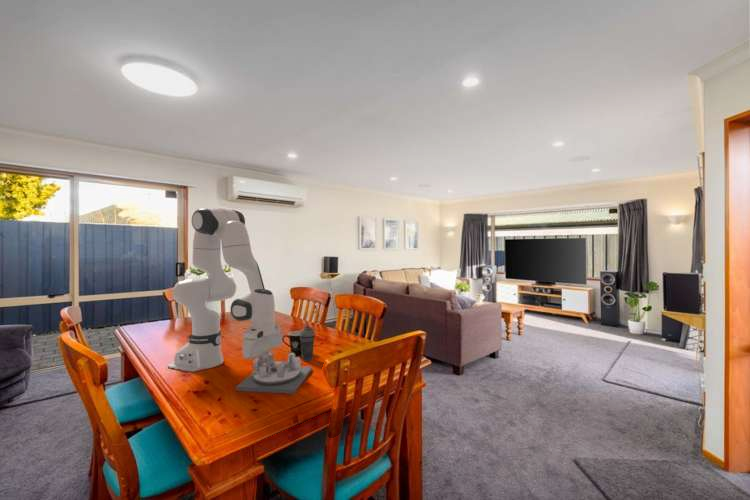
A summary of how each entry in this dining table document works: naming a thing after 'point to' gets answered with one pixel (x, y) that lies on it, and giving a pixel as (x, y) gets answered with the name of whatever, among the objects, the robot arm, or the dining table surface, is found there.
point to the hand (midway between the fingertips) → (263, 362)
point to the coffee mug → (294, 342)
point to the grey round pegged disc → (276, 370)
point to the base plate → (282, 388)
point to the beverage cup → (307, 342)
